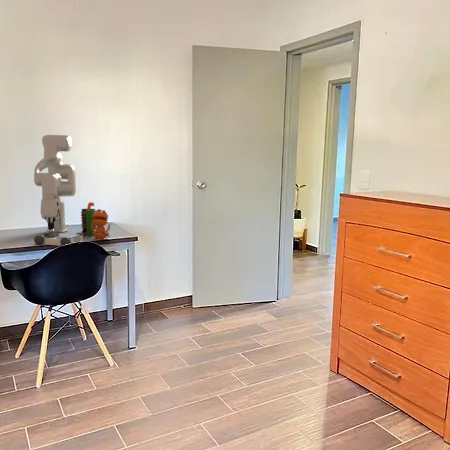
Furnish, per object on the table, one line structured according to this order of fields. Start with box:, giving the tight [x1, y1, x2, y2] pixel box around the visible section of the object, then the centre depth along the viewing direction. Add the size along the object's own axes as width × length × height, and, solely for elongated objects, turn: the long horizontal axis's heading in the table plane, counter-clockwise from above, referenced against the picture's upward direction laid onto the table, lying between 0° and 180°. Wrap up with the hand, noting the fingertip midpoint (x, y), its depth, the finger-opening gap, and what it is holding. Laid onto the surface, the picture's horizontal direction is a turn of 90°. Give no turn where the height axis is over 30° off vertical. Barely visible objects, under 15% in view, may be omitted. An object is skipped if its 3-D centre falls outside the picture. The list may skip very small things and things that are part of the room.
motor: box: [80, 201, 97, 237], centre depth 272 cm, size 10×9×20 cm
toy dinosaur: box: [91, 209, 111, 240], centre depth 262 cm, size 11×11×18 cm
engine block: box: [43, 229, 60, 238], centre depth 251 cm, size 7×5×6 cm
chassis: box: [33, 231, 85, 247], centre depth 250 cm, size 16×22×5 cm
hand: (51, 229), depth 250 cm, fingers closed
